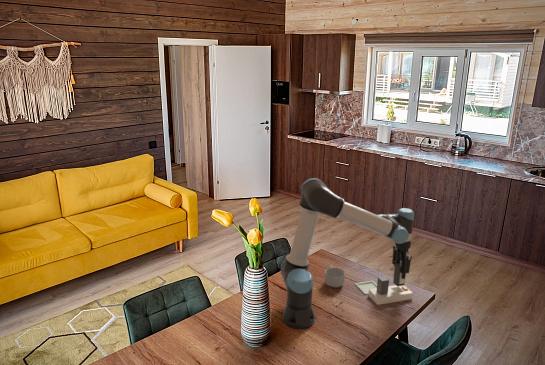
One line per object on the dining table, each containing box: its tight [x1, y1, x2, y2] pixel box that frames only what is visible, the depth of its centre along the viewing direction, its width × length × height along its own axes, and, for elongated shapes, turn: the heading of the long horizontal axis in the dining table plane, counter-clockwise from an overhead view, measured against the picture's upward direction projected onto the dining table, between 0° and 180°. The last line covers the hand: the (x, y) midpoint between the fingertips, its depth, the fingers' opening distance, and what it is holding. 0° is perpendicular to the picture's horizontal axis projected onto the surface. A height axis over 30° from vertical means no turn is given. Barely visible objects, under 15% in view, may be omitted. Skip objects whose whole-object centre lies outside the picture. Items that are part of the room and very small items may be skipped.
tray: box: [354, 280, 377, 296], centre depth 228 cm, size 11×11×1 cm
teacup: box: [324, 265, 346, 289], centre depth 232 cm, size 14×11×8 cm
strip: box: [367, 276, 414, 306], centre depth 218 cm, size 20×9×12 cm, turn 107°
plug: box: [392, 262, 406, 287], centre depth 217 cm, size 4×4×11 cm
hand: (399, 281), depth 219 cm, fingers closed on plug, 4 cm apart
